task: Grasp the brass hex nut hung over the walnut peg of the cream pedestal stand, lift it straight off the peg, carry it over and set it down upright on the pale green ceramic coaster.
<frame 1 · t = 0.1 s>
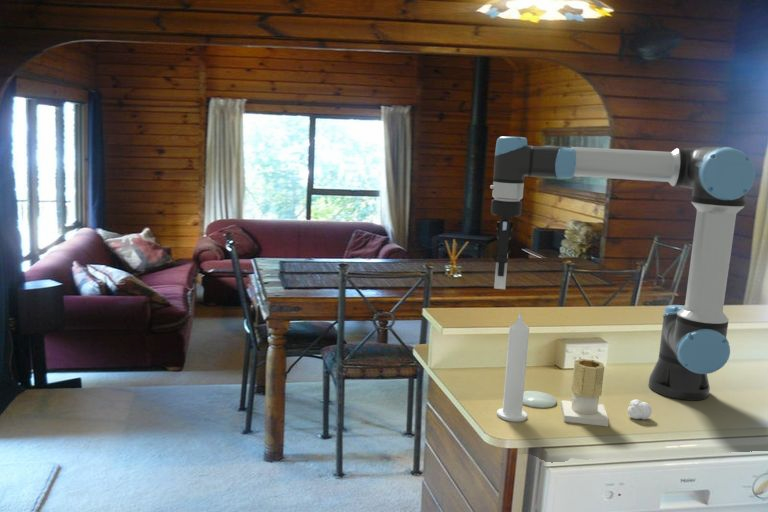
hand: (500, 283, 188), 28 cm above the counter, fingers open, 13 cm apart
ring stand: (583, 415, 177), on the counter
microfossil shell: (638, 418, 178), on the counter
brass hex nut: (586, 391, 176), point 6 cm above the counter, touching ring stand
candle: (511, 416, 175), on the counter
coaster: (536, 400, 186), on the counter
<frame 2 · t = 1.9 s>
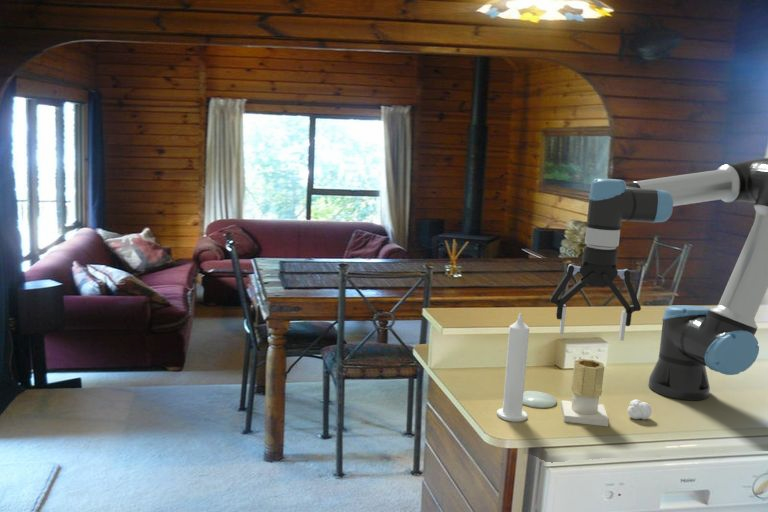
hand: (591, 336, 173), 20 cm above the counter, fingers open, 13 cm apart
nothing on the counter moved.
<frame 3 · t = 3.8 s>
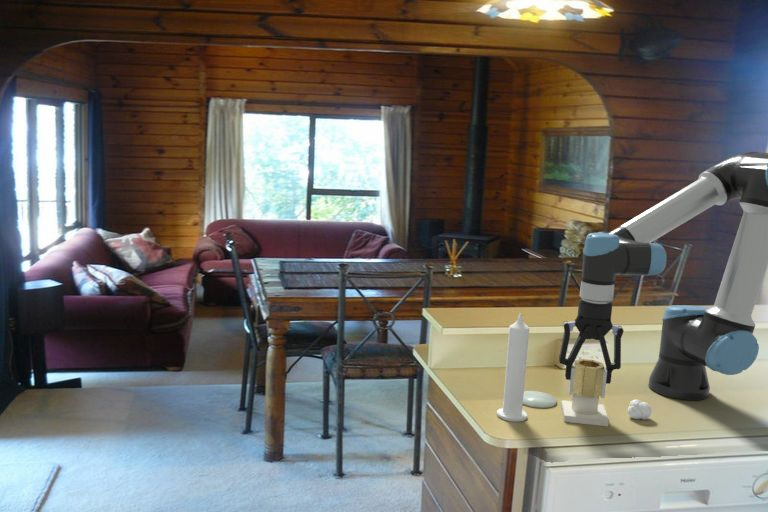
hand: (586, 394, 176), 5 cm above the counter, fingers closed on brass hex nut, 7 cm apart
brass hex nut: (586, 391, 176), point 6 cm above the counter, touching gripper, ring stand
everything else where it was.
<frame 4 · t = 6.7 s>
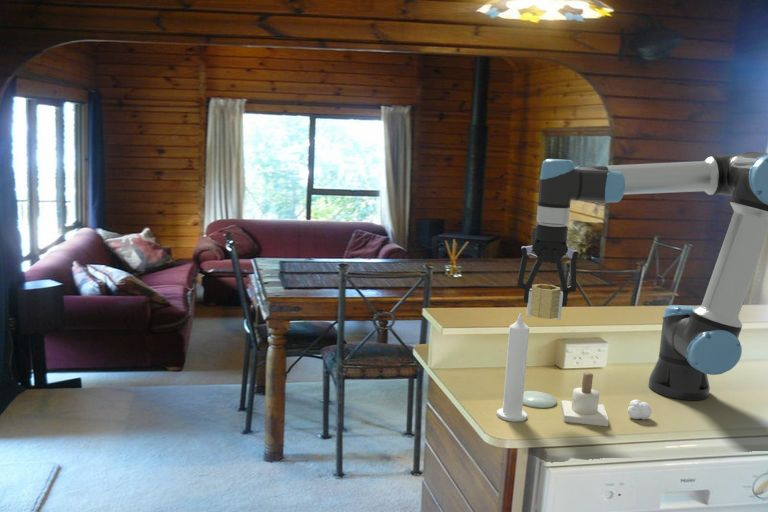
hand: (543, 317, 182), 22 cm above the counter, fingers closed on brass hex nut, 7 cm apart
brass hex nut: (543, 315, 182), point 22 cm above the counter, touching gripper
everything else where it was.
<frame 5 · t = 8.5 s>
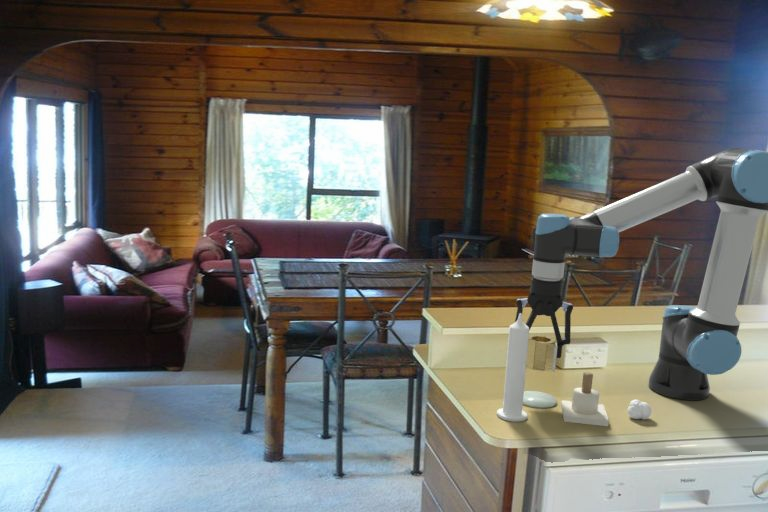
hand: (538, 368, 184), 8 cm above the counter, fingers closed on brass hex nut, 7 cm apart
brass hex nut: (538, 366, 184), point 9 cm above the counter, touching gripper
everything else where it was.
when the fingers open (2 cm above the counter, at t = 10.0 s): brass hex nut drops 2 cm, resting on coaster.
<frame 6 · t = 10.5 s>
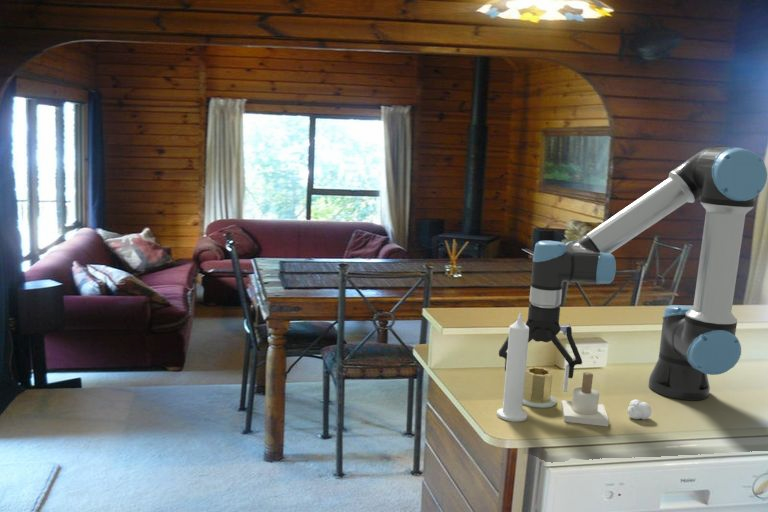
hand: (537, 387, 185), 3 cm above the counter, fingers open, 13 cm apart
brass hex nut: (536, 398, 185), point 1 cm above the counter, touching coaster
everything else where it was.
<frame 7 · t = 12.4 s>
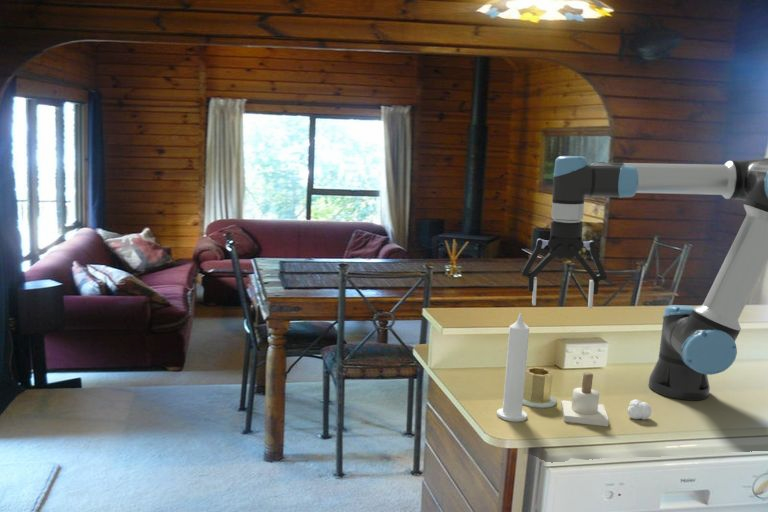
hand: (561, 305, 183), 24 cm above the counter, fingers open, 13 cm apart
nothing on the counter moved.
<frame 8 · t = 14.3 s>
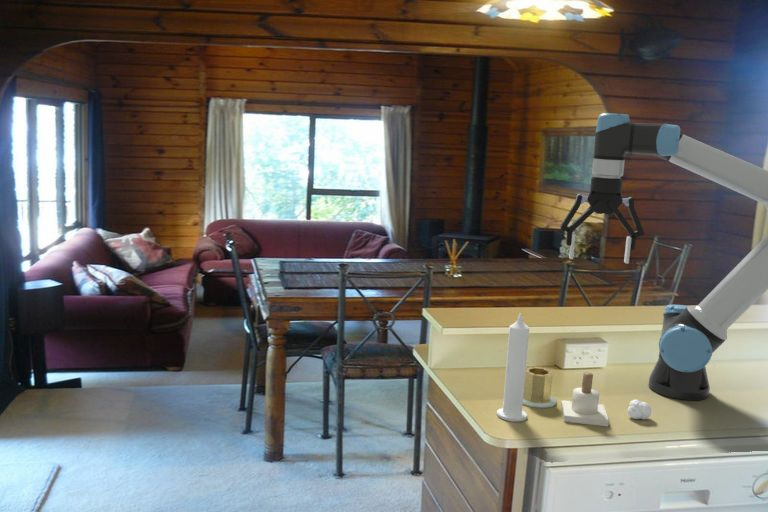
hand: (598, 260, 188), 35 cm above the counter, fingers open, 13 cm apart
nothing on the counter moved.
at the end: brass hex nut inside the target area on the coaster (0.0 cm from its centre), point 0.6 cm above the coaster's base; brass hex nut tilted 0°; the gripper is holding nothing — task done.
